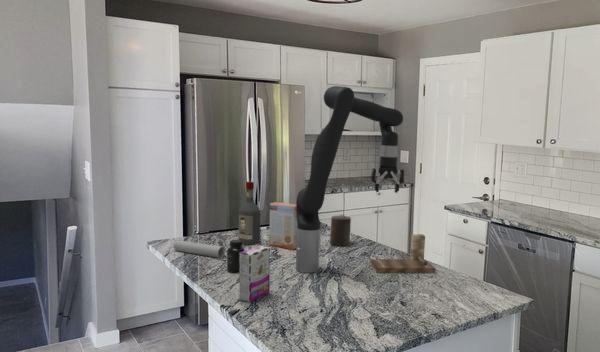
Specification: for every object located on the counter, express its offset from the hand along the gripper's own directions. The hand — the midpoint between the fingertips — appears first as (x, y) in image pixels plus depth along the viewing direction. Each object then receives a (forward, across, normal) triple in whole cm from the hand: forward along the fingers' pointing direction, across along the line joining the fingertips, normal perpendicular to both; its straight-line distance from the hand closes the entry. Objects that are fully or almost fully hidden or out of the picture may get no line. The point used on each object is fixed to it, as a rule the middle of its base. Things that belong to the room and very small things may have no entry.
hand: (386, 192), depth 206 cm
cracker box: (+30, -44, +17) cm, 56 cm away
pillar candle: (+30, -16, +22) cm, 41 cm away
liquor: (+30, -61, +24) cm, 72 cm away
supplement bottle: (+30, -65, -19) cm, 74 cm away
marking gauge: (+29, +13, -13) cm, 35 cm away
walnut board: (+30, +4, -16) cm, 34 cm away
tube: (+31, -83, +4) cm, 89 cm away
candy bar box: (+30, -57, -47) cm, 80 cm away
